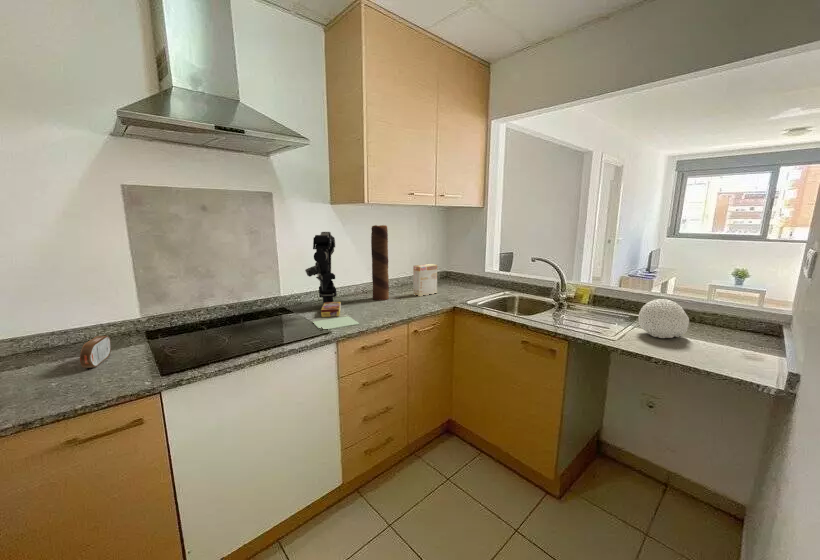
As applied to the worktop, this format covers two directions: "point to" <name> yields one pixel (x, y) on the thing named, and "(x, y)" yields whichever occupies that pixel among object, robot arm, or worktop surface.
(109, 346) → the tin
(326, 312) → the candy box
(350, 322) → the mat
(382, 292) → the wafer roll
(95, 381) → the worktop surface
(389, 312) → the worktop surface
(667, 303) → the white rounded lump
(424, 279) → the coffeecake box
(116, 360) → the worktop surface
